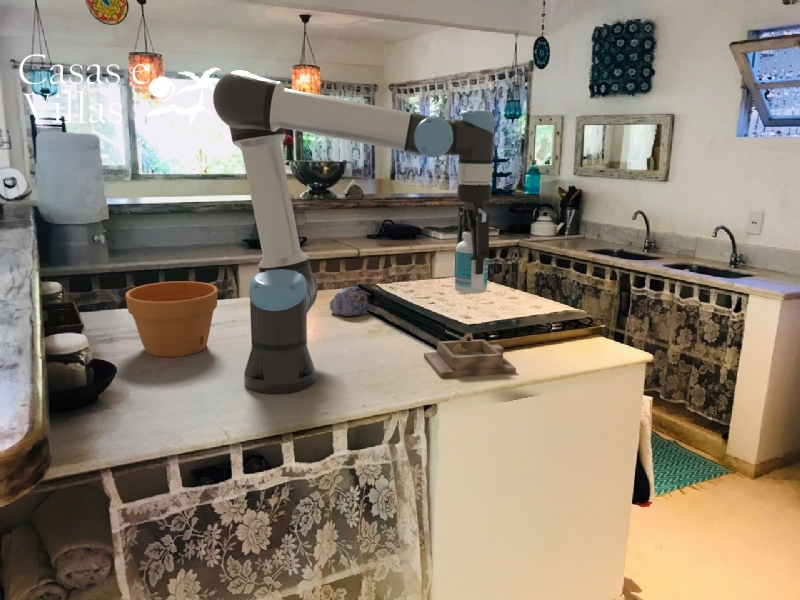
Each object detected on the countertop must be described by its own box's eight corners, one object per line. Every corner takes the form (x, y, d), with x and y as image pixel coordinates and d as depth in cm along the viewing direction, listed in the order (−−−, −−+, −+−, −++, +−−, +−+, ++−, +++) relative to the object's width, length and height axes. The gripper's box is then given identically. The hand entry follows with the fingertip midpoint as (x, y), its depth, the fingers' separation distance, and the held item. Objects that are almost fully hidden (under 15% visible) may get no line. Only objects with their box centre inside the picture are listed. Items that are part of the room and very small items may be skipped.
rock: (375, 303, 198) (361, 277, 193) (358, 325, 191) (342, 299, 187) (350, 304, 204) (335, 279, 200) (332, 326, 198) (317, 300, 193)
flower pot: (184, 367, 147) (181, 304, 143) (110, 355, 153) (105, 295, 150) (236, 341, 166) (234, 285, 163) (168, 332, 173) (165, 278, 169)
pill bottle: (485, 295, 144) (488, 235, 141) (452, 293, 146) (454, 234, 142) (487, 288, 151) (490, 231, 148) (456, 286, 153) (458, 229, 150)
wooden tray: (440, 377, 144) (441, 359, 143) (423, 357, 157) (424, 341, 156) (515, 372, 148) (516, 355, 147) (493, 353, 161) (494, 337, 160)
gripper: (508, 186, 134) (503, 293, 139) (475, 180, 153) (471, 274, 159) (474, 186, 132) (470, 295, 138) (444, 180, 151) (442, 276, 157)
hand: (470, 284), depth 148 cm, fingers closed on pill bottle, 7 cm apart
